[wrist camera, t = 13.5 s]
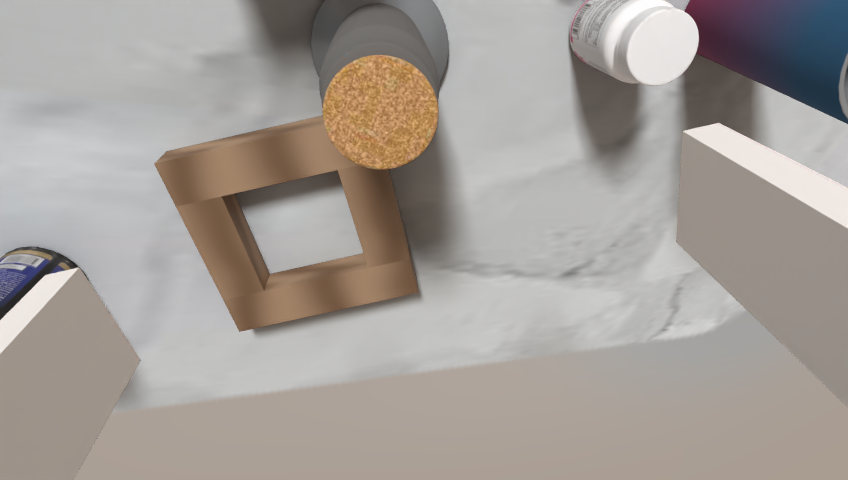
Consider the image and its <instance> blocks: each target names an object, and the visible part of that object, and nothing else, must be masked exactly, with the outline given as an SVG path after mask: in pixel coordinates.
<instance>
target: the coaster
mask: <svg viewBox="0 0 848 480" xmlns="http://www.w3.org/2000/svg"><path fill="white" fill-rule="evenodd" d="M370 3H384V4H388V5H391V6H394V7H396V8H398V9H400V10H401V11H403V12H404V13H405V14H407V15H408V16H409V17H410V18H411V19H412V21H413V22H414V23H415V25H416V26H417V28H418V30H419V31H420V33H421V35H422V37H423V39H424V41H425V43H426V45H427V47H428V49H429V51H430V53H431V55H432V57H433V59H434V62H435V65H436V68H437V72H438V76H439V82H440V80H441V78H442V76H443V73H444V71H445V67H446V64H447V58H448V36H447V31H446V26H445V23H444V20H443V18H442V15H441V13H440V11H439V10H438V8H437V6H436V5H435V3H434V2H433V0H324V2H323V3H322V5H321V7H320V8H319V10H318V13H317V15H316V17H315V21H314V24H313V28H312V35H311V51H312V58H313V62H314V66H315V68H316V71H317V74H318V76H319V78H320V71H321V68H322V64H323V61H324V58H325V56H326V53H327V51H328V49H329V46H330V44H331V42H332V40H333V37H334V35H335V33H336V31H337V29H338V27H339V26H340V24H341V22H342V21H343V20H344V18H345V17H346V16H347V15H348V14H349V13H351V12H352V11H353V10H355V9H357V8H358V7H360V6H363V5H366V4H370Z"/></svg>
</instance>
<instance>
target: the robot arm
mask: <svg viewBox="0 0 848 480" xmlns="http://www.w3.org/2000/svg"><path fill="white" fill-rule="evenodd" d="M676 242H677V243H678V244H679V245H680V246H681V247H682V248H683V249H684V250H685V251H686V252H687V253H688V254H689V255H690V256H691V257H692V258H693V259H694V260H695V261H697V262H698V263H699V264H700V265H701V266H702V267H703V268H704V269H705V270H706V271H707V272H708V273H709V274H710V275H711V276H712V277H713V278H714V279H715V280H716V281H717V282H718V283H719V284H720V285H721V286H722V287H723V288H724V289H726V290H727V291H728V292H729V293H730V294H731V295H732V296H733V297H734V298H735V299H736V300H737V301H738V302H739V303H740V304H741V305H742V306H743V307H744V308H745V309H746V310H747V311H748V312H749V313H750V314H751V315H752V316H754V317H755V318H756V319H757V320H758V321H759V322H760V323H761V324H762V325H763V326H764V327H765V328H766V329H767V330H768V331H769V332H770V333H771V334H772V335H773V336H774V337H775V338H776V339H777V340H779V342H781V344H783V345H784V346H785V347H786V348H787V349H788V350H789V351H790V352H791V353H792V354H793V355H794V356H795V357H796V358H797V359H798V360H799V361H800V362H801V363H802V364H803V365H805V367H806V368H807V369H808V370H810V371H811V372H812V373H813V374H814V375H815V376H816V377H817V378H818V379H819V380H820V381H821V382H822V383H823V384H824V385H825V386H826V387H827V388H828V389H829V390H830V391H831V392H832V393H833V394H834V395H835V396H836V397H837V398H839V399H840V400H841V401H842V402H843V403H844V404H845V405H846V406H847V407H848V188H847V187H845V186H843V185H841V184H839V183H837V182H835V181H833V180H831V179H829V178H827V177H825V176H823V175H821V174H819V173H817V172H815V171H813V170H811V169H809V168H807V167H805V166H803V165H801V164H799V163H797V162H795V161H793V160H791V159H789V158H787V157H785V156H783V155H782V154H780V153H778V152H776V151H774V150H772V149H770V148H768V147H766V146H764V145H762V144H760V143H758V142H756V141H754V140H752V139H750V138H748V137H746V136H744V135H742V134H740V133H738V132H736V131H734V130H732V129H730V128H728V127H726V126H724V125H722V124H720V123H716V124H712V125H707V126H703V127H698V128H694V129H689V130H685V131H682V149H681V166H680V184H679V202H678V220H677V238H676ZM140 361H141V360H140V358H139V357H138V355H137V354H136V352H135V351H134V349H133V348H132V346H131V345H130V343H129V342H128V340H127V339H126V337H125V336H124V334H123V333H122V331H121V330H120V328H119V327H118V325H117V324H116V322H115V321H114V319H113V318H112V316H111V314H110V313H109V311H108V310H107V308H106V307H105V305H104V304H103V302H102V301H101V299H100V298H99V296H98V295H97V293H96V292H95V290H94V289H93V287H92V286H91V284H90V283H89V281H88V280H87V278H86V277H85V275H84V274H83V272H82V271H81V269H80V268H74V269H70V270H66V271H61V272H57V273H52V274H48V275H45V276H44V277H43V278H42V279H41V280H40V281H39V282H38V283H37V284H36V285H35V286H34V287H33V288H32V289H31V290H30V291H29V292H28V293H27V294H26V295H25V296H24V297H23V298H22V299H21V300H20V301H19V302H18V303H17V304H16V305H15V306H14V307H13V308H12V309H11V310H10V311H9V312H8V313H7V314H6V315H5V316H4V317H3V318H2V319H1V320H0V480H74V478H75V477H76V475H77V473H78V471H79V470H80V468H81V466H82V464H83V463H84V461H85V459H86V457H87V455H88V453H89V452H90V450H91V448H92V446H93V444H94V443H95V441H96V439H97V437H98V436H99V434H100V432H101V430H102V429H103V427H104V425H105V423H106V421H107V420H108V418H109V416H110V414H111V412H112V411H113V409H114V407H115V405H116V404H117V402H118V400H119V398H120V396H121V395H122V393H123V391H124V389H125V387H126V386H127V384H128V382H129V380H130V378H131V377H132V375H133V373H134V371H135V370H136V368H137V366H138V364H139V362H140Z"/></svg>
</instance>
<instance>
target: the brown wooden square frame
mask: <svg viewBox="0 0 848 480" xmlns="http://www.w3.org/2000/svg"><path fill="white" fill-rule="evenodd" d="M154 164H155V166H156V168H157V170H158V172H159V174H160V176H161V178H162V180H163V182H164V184H165V186H166V188H167V190H168V192H169V194H170V196H171V198H172V200H173V202H174V204H175V206H176V208H177V210H178V212H179V213H180V215H181V217H182V219H183V221H184V223H185V225H186V227H187V229H188V231H189V233H190V235H191V237H192V239H193V241H194V243H195V245H196V247H197V249H198V251H199V253H200V255H201V257H202V259H203V261H204V263H205V265H206V267H207V269H208V271H209V273H210V275H211V276H212V278H213V280H214V282H215V284H216V286H217V288H218V290H219V292H220V294H221V296H222V298H223V300H224V302H225V304H226V306H227V308H228V310H229V312H230V314H231V316H232V318H233V320H234V322H235V324H236V326H237V328H238V330H239V332H240V331H245V330H250V329H254V328H259V327H263V326H268V325H272V324H277V323H281V322H286V321H291V320H295V319H300V318H304V317H309V316H313V315H318V314H322V313H327V312H332V311H336V310H341V309H345V308H350V307H354V306H359V305H364V304H368V303H373V302H377V301H382V300H386V299H391V298H395V297H400V296H405V295H409V294H414V293H418V286H417V278H416V273H415V269H414V266H413V262H412V258H411V254H410V250H409V246H408V242H407V238H406V235H405V231H404V227H403V223H402V219H401V215H400V211H399V208H398V204H397V200H396V196H395V192H394V188H393V184H392V180H391V177H390V173H389V169H385V170H383V169H371V168H367V167H363V166H360V165H358V164H356V163H354V162H352V161H350V160H349V159H347V158H346V157H345V156H344V155H342V154H341V153H340V152H339V151H338V150H337V149H336V147H335V146H334V145H333V143H332V142H331V140H330V138H329V136H328V134H327V132H326V129H325V126H324V121H323V116H318V117H314V118H310V119H305V120H301V121H297V122H292V123H288V124H284V125H279V126H275V127H271V128H266V129H262V130H258V131H253V132H249V133H245V134H240V135H236V136H232V137H227V138H223V139H218V140H214V141H210V142H205V143H201V144H197V145H192V146H188V147H184V148H179V149H175V150H171V151H167V152H166V153H165V154H164V155H163V156H162V157H161V158H160V159H159V160H158V161H157V162H155V163H154ZM336 170H338V173H339V176H340V179H341V182H342V186H343V189H344V192H345V195H346V198H347V202H348V205H349V208H350V211H351V214H352V218H353V221H354V224H355V227H356V230H357V233H358V237H359V240H360V243H361V246H362V249H363V254H358V255H354V256H349V257H345V258H340V259H336V260H331V261H327V262H322V263H318V264H313V265H309V266H304V267H300V268H295V269H291V270H286V271H282V272H277V273H273V274H269V272H268V270H267V267H266V265H265V263H264V260H263V258H262V256H261V254H260V251H259V249H258V247H257V244H256V242H255V240H254V238H253V235H252V233H251V231H250V228H249V226H248V224H247V221H246V219H245V217H244V215H243V212H242V210H241V208H240V205H239V203H238V201H237V199H236V196H235V194H234V193H239V192H243V191H248V190H252V189H256V188H261V187H265V186H270V185H274V184H278V183H283V182H287V181H292V180H296V179H300V178H305V177H309V176H314V175H318V174H323V173H327V172H331V171H336Z"/></svg>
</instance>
